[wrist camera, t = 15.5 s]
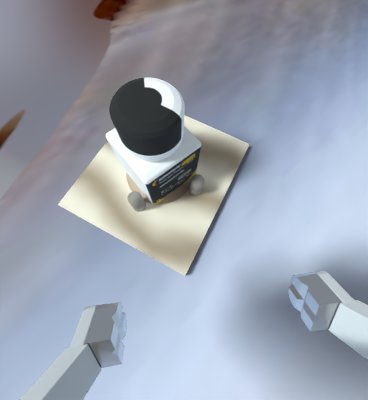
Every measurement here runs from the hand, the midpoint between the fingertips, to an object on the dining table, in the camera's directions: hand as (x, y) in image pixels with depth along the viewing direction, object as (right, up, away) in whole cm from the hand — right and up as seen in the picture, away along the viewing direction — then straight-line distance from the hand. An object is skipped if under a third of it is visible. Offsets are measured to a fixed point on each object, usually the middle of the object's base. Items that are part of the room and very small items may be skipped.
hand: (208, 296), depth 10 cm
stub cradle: (-4, +8, +18) cm, 21 cm away
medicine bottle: (-5, +8, +18) cm, 20 cm away
